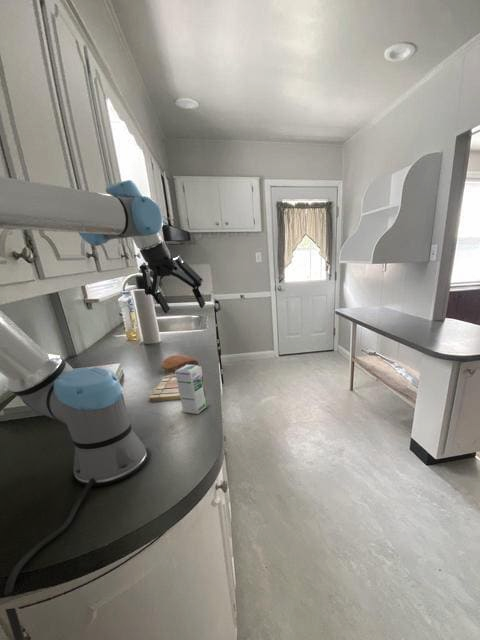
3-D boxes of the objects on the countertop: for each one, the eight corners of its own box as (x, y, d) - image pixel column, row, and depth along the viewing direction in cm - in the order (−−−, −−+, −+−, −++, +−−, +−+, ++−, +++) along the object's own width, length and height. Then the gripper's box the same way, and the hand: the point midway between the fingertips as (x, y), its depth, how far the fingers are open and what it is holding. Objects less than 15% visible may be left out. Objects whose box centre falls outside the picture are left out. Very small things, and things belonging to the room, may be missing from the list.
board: (190, 398, 107) (190, 394, 106) (150, 401, 106) (149, 397, 105) (200, 376, 127) (199, 372, 127) (165, 378, 126) (165, 375, 125)
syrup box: (198, 414, 96) (190, 371, 90) (182, 412, 98) (174, 369, 92) (208, 406, 101) (201, 365, 95) (193, 404, 103) (185, 363, 97)
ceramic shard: (149, 358, 135) (177, 354, 148) (151, 372, 136) (179, 367, 149) (170, 358, 127) (198, 354, 140) (172, 373, 129) (199, 368, 141)
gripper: (194, 231, 86) (222, 297, 101) (122, 247, 93) (158, 307, 107) (184, 241, 81) (215, 309, 96) (108, 257, 88) (148, 319, 102)
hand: (185, 308), depth 101 cm, fingers open, 13 cm apart
